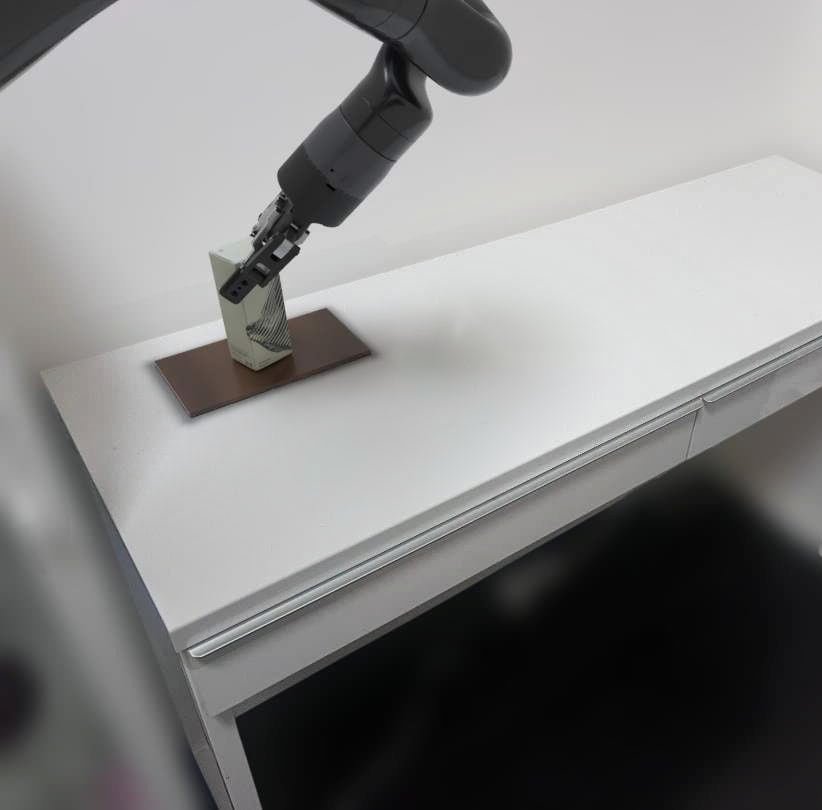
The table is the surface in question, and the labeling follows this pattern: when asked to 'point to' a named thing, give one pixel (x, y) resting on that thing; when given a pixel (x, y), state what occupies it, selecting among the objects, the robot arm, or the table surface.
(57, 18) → the robot arm
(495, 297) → the table surface
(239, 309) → the box
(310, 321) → the walnut board
